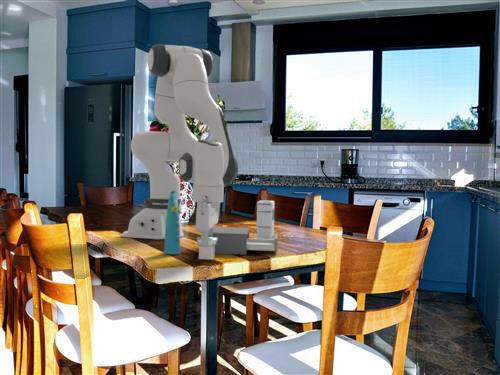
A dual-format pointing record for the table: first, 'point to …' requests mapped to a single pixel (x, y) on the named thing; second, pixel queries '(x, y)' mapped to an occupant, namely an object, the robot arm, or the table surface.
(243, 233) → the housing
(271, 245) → the tray
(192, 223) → the table surface
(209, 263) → the table surface
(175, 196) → the tube
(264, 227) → the syrup box
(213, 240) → the disc
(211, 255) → the block
